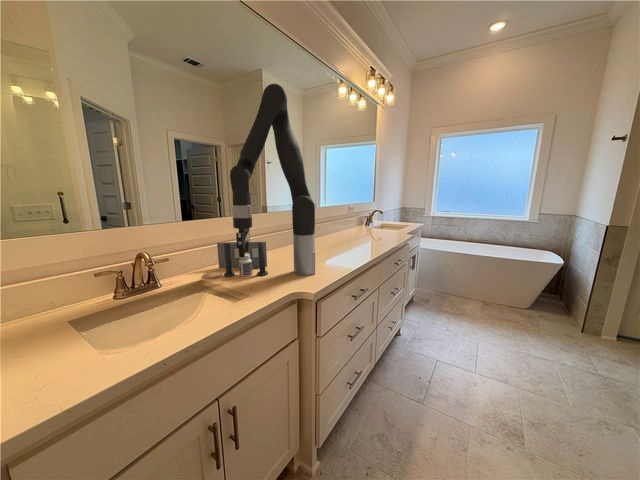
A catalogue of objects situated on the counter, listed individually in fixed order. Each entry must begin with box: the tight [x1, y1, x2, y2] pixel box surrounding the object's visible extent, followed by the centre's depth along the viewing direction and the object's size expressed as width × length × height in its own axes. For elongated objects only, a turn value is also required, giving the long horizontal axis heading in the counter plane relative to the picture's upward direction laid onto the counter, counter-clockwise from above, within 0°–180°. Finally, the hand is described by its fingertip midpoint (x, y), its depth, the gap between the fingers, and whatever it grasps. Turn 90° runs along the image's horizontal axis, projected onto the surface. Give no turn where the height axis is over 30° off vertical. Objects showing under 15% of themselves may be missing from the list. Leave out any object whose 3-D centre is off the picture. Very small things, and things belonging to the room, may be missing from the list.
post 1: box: [223, 243, 236, 278], centre depth 107 cm, size 4×4×14 cm
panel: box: [216, 241, 268, 269], centre depth 118 cm, size 22×2×12 cm, turn 95°
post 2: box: [257, 241, 269, 277], centre depth 108 cm, size 4×4×14 cm
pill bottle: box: [238, 254, 253, 278], centre depth 108 cm, size 5×5×9 cm
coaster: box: [201, 271, 224, 280], centre depth 108 cm, size 8×8×1 cm
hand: (244, 254), depth 107 cm, fingers open, 8 cm apart
